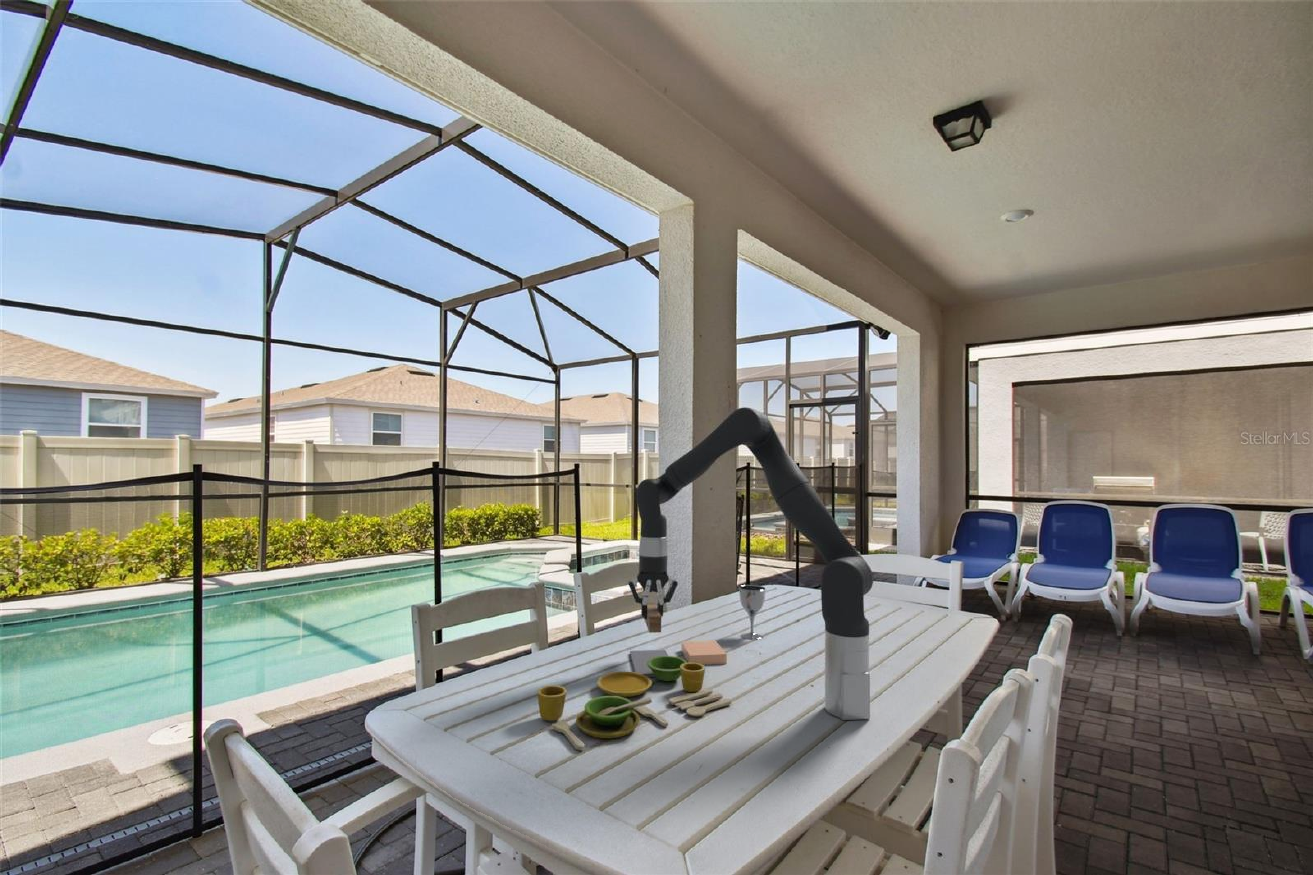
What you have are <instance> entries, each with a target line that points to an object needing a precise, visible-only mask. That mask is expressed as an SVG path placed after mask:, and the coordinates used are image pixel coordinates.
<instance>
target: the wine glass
mask: <svg viewBox="0 0 1313 875" xmlns="http://www.w3.org/2000/svg"><path fill="white" fill-rule="evenodd" d="M738 593H739V601H740V605H741V607H742V608H743V609H744V611H745V612H746V614H747V615H748V617H749V621H750V632H744V633H741V634H740V636H739V637H741V638H742V639H745V640H749V641H750V640H752V641H759V640H762V639H764V635H762V634H760V633H755V632H754V621H755V617H756V615H757V614H758V612H760V611H761V609H762V608H763V606H764V604H765V599H766V587H765V586H762V585H757V584H744V585H740V586H739V592H738Z"/></svg>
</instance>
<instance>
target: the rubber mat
mask: <svg viewBox="0 0 1313 875" xmlns="http://www.w3.org/2000/svg"><path fill="white" fill-rule="evenodd" d="M629 655H630V658H631V663H632V666H633V670H634V671H633V672H636V673H640V674H643V675H645V676H647V677H649V678H656V677H655V676H654V674H653V672H652V670H651V669H650V668H649V667H648V665H647V662H648V661H649V660H650V659H652V658H654V657H659V656H669V655H668V653H667V650H666V649H653V650H647V649H643V650H629Z"/></svg>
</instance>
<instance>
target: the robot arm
mask: <svg viewBox="0 0 1313 875" xmlns="http://www.w3.org/2000/svg"><path fill="white" fill-rule="evenodd" d="M742 445H743V446H745V447H746V448H748V450H749V451H750V452H751V454H752V455H753V456H754V457H755V459H756V460H757V461H758V463H759V464H760V466H761V468H762V469H763V473H764V474H765V475H764V476H765V478H766V482H767V485H768V488H769V491H770V494H771V496H772V498H773V500H774V501H775V503H776V504H777V507H778V508H779V509H780V511H781V513H782V515H783V516H784V517H785V519H786V521H788V522H789V523H790V524H791V526H792V527H793V528H794V529H795V530H797V531H798V532H799V533H800V534H801V535H802V536H803V537H804V538H805V539H806V540H808V541H809V542H810V543H811V544H812V545H813V546H814V548H815V549H816V550H817V551H818V553H819V554H820V555H821V557H822V559H823V561H824V562H825V567H824V568H823V570H822V573H821V578H820V579H821V580H820V589H821V590H820V595H821V596H820V599H821V614H822V619H823V622H824V710H825V711H826V712H827V713H829V714H830V715H832V716H834V717H837V718H840V719H841V720H842V721H849V720H850V721H852V720H853V721H854V720H870V719H871V675H870V623H869V620H868V619H867V617H866V616H865V606H864V604H865V602H864V600H865V598H864V596H865V595H867V594H868V593H869V592H870V590H871V589H872V588H873V584H874V576H873V572H872V569H871V567H870V565H869V564H868V562H867V561H866V560H865V559H864V557H863V556H862V555H861V554H860V553H859V551H858V550H857V549H856V548H855V547H854V546H853V544H852V542H850V540H848V538H847V537H846V536H845V534H844V533H843V532H842V531H841V528H840V527H839V526H838V524H837V522H836V521H835V519H834V518H833V516H832V514H831V513H830V511H829V510H828V508H827V507H826V505H825V504H824V502H823V501H822V499H821V497H820V495H819V494H818V492H817V490H815V488H814V486H813V485H812V483H811V482H810V481H809V479H808V478H807V477H806V475H805V474H804V473H803V471H802V470H801V469H800V467H799V466H798V464H797V463H796V462H795V461H794V459H793V458H792V456H790V454H789V453H788V451H787V450H786V449H785V446H784V445H783V442H781V439H780V437H779V435H778V434H777V431H776V430H775V428H774V426H773V424H772V422H771V420H770V419H769V418H768V416H767V415H766V414H764V413H763V412H762V411H760V410H756V409H754V408H752V407H745V406H744V407H740V408H737V409H736V410H734V411H732V413H730V415H728V416H727V417H726V418H725V419H724V420H723V421H722V422H721V423H720V424H719V425H718V426H717V427H716V428H715V429H714V430H713V431H712V432H711V433H710V434H709V435H708V436H706V437H705V438H704V439H703V440H702V441H701V442H700V443H698V444H697V445H695V447H693V448H691V449H690V450H689V451H688V452H686V453H685V454H683V455H682V456H680V457H679V458H678V459H676V460H675V461H673V462H671V463H670V464H669V465H668V466H667V467H666V469H665V470H664V471H665V472H664V473H663V474H662V475H660V476H658V477H656V478H646V479H643V480H642V481H641V482H639V484H638V486H637V487H636V488H637V489H636V497H635V498H636V504H637V509H638V510H637V511H638V514H639V517H640V538H639V547H638V554H639V555H638V556H639V557H638V573H637V576H636V578H634V579H629V580H627V583H628V587H629V589H630V590H631V591H630V592H631V594H632V596H633V598H634V601H635V603H637V604H639V605H641V606H640V608H641V609H640V610H641V611H640V613H641V616H642V618H643V619H647V603H648V598H649V595H650V593H653V592H654V593H656V596H657V603H656V607H657V609H658V611H659V613H660V615H661V618H662V617H664V605H665V604H666V603H670V602H671V600H672V598H673V596H674V593H675V591H676V589H677V587H678V585H679V584H678V583H679V582H678V581H677V580H676V579H672V578H671V577H669V575H668V539H667V536H668V534H667V532H668V531H667V530H668V529H667V527H668V525H667V524H668V523H667V517H666V516H665V515H664V514H662V512H661V505H663V504H665V503H667V502H669V501H671V499H673V498H674V497H675V496H676V495H677V494H678V493H679V492H681V491H682V489H683V488H685V487H687V486H688V485H690V484H692V483H693V482H694V481H696V480H697V479H698V478H701V477H702V476H703V475H704V474H706V472H707V471H708V470H709V469H710V468H711V467H712V465H713V464H715V462H716V461H717V460H719V458H720V457H721V456H723V455H725V454H726V453H727V452H729V451H731V450H733V449H735V448H737V447H739V446H742ZM638 583H639V585H640V586H641V588H642V594H641V595H642V596H641V597H640V596H639V594H638V592H637V589H636V588H637V587H638ZM667 583H668V585H667V586H668V589H667V592H666V594H665V596H663V589H664V587H665V586H666V584H667Z"/></svg>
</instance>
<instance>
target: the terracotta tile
mask: <svg viewBox="0 0 1313 875" xmlns="http://www.w3.org/2000/svg"><path fill="white" fill-rule="evenodd" d="M680 650H681V652H682V654H683V656H684V658H685V660H686V661H687V663H689V662H693V663H699V664H702V665H704V666H705V665H706V666H708V665H727V658H728V656H727V653H726V651H725V650H724V648H722V647H721V645H720V644H719V643H718V642H717V640H697V641H696V640H694V641H681V649H680Z"/></svg>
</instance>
